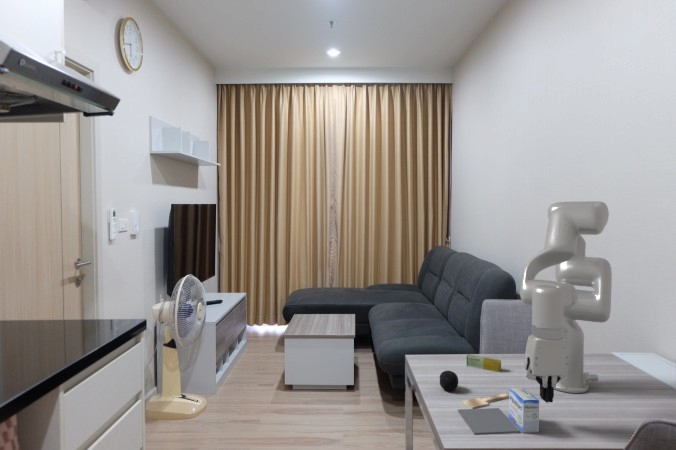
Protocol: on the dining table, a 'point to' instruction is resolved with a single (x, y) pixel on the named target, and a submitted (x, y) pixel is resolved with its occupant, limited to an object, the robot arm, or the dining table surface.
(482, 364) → the medication box
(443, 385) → the billiard ball
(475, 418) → the mat
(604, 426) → the dining table surface
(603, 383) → the dining table surface
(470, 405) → the wooden turner
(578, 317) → the robot arm
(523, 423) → the medicine box
